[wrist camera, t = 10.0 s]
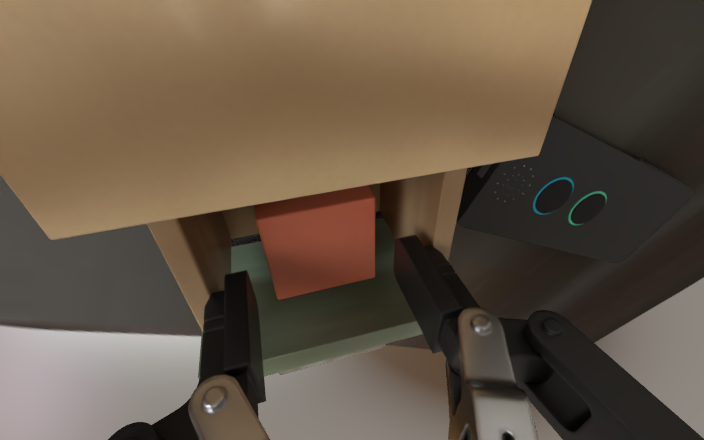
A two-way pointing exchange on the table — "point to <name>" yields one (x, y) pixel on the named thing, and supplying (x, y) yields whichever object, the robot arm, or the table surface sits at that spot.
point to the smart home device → (573, 197)
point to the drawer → (324, 305)
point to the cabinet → (264, 99)
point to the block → (318, 240)
